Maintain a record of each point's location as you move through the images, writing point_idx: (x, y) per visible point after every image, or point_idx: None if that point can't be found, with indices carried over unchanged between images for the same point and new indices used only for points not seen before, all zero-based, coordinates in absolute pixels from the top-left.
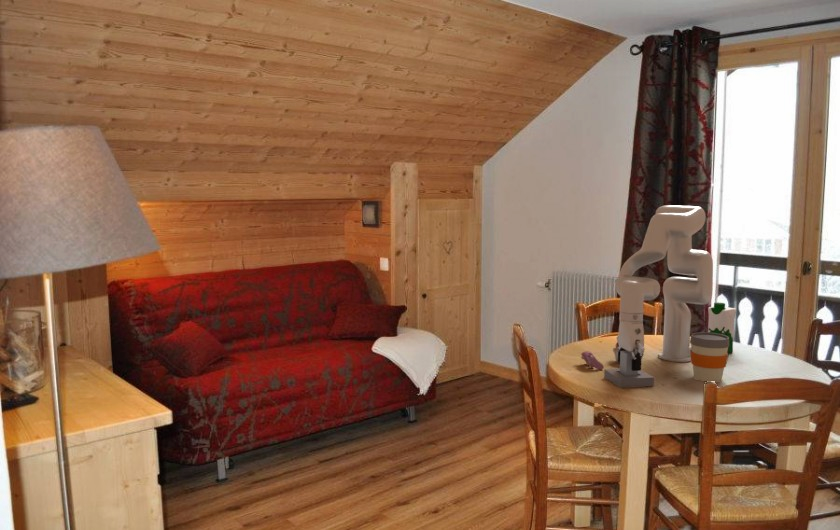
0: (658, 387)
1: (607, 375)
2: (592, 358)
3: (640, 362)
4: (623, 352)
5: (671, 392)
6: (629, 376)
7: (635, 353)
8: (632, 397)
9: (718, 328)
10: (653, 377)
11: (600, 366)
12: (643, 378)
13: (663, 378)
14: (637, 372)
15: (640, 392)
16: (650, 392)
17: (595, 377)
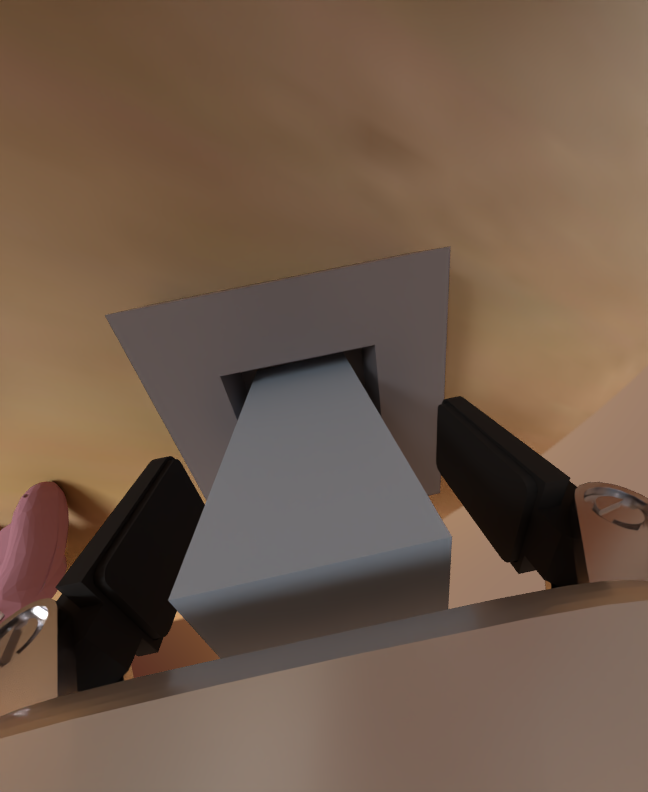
0: (446, 223)
1: None
2: (24, 601)
3: (517, 450)
4: None
5: (581, 159)
6: (395, 438)
7: (432, 579)
8: (557, 436)
9: None
10: (448, 254)
11: (52, 511)
12: (444, 352)
13: (159, 5)
14: (357, 381)
15: (506, 382)
16: (525, 326)
17: None
